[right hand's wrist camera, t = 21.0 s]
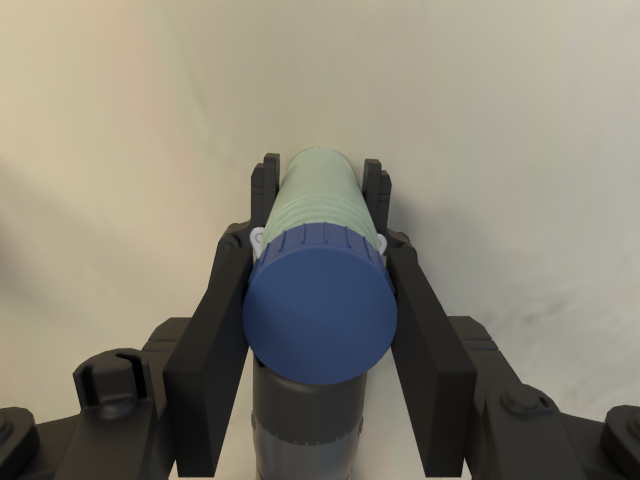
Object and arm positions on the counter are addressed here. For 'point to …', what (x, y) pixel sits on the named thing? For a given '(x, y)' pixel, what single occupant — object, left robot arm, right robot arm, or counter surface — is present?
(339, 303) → the cap
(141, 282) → the counter surface
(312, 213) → the bottle
